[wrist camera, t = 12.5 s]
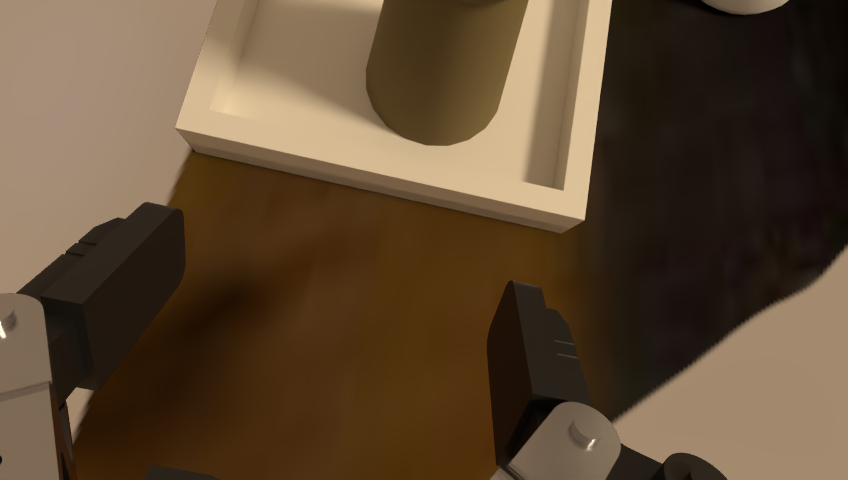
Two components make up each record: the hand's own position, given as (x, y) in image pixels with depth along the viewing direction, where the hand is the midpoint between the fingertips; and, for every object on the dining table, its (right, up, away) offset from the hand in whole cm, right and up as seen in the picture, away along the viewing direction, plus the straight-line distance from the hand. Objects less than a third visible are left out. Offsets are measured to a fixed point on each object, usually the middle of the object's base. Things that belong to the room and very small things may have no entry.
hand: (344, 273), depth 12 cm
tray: (+2, +9, +11) cm, 14 cm away
